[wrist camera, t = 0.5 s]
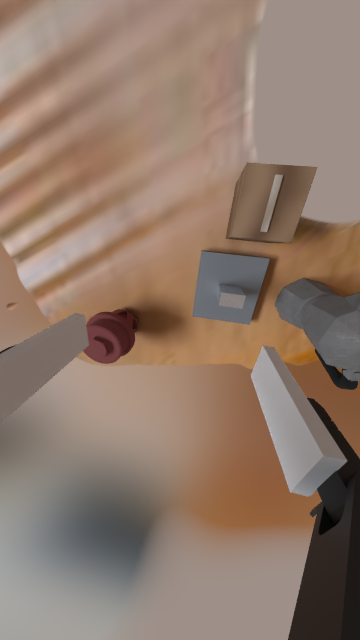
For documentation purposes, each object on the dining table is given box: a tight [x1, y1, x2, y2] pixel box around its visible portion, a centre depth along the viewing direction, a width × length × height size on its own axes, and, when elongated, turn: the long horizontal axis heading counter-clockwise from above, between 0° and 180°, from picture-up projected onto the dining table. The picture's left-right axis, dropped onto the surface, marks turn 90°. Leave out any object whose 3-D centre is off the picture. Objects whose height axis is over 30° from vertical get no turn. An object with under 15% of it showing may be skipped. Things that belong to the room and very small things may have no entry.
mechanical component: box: [83, 310, 139, 364], centre depth 35 cm, size 12×10×10 cm
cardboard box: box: [226, 163, 317, 243], centre depth 25 cm, size 8×8×8 cm
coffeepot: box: [275, 278, 360, 390], centre depth 26 cm, size 15×9×18 cm, turn 10°
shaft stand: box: [193, 251, 270, 325], centre depth 30 cm, size 13×12×8 cm
